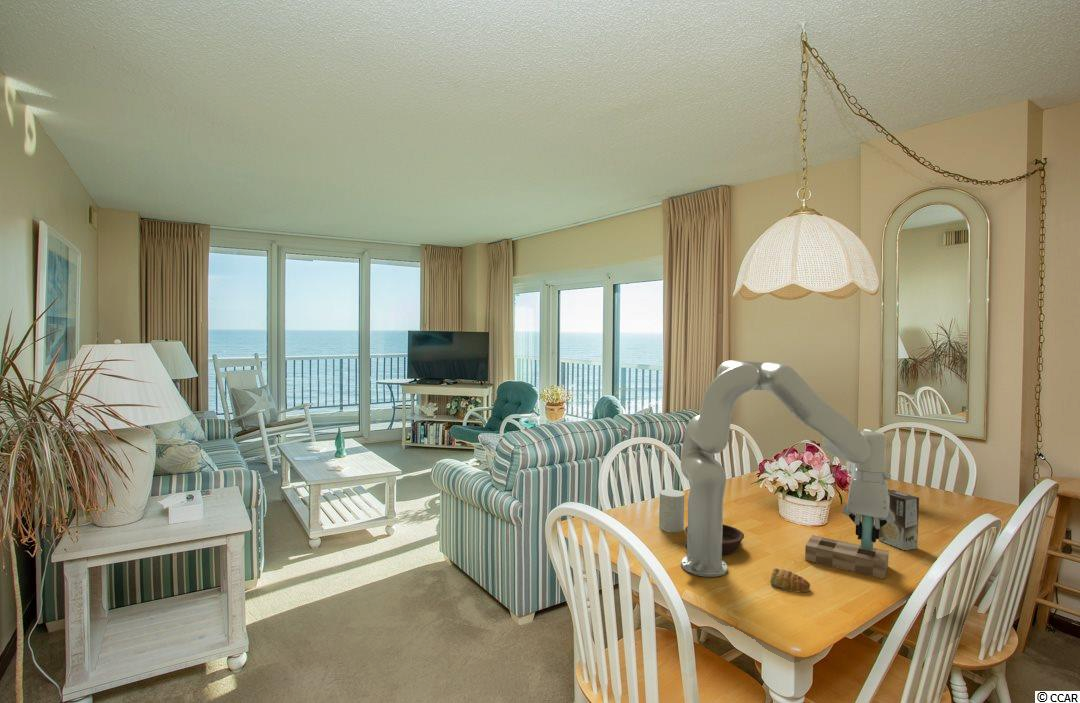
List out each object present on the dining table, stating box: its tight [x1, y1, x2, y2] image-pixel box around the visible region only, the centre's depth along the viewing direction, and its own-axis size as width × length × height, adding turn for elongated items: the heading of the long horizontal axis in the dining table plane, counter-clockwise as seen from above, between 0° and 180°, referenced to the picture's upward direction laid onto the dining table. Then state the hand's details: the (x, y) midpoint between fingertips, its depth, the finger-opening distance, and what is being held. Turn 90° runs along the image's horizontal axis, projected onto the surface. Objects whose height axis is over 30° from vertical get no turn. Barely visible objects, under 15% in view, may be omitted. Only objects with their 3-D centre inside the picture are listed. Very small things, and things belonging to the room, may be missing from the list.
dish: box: [684, 524, 745, 556], centre depth 174 cm, size 18×22×5 cm
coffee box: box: [878, 489, 920, 551], centre depth 176 cm, size 9×6×16 cm
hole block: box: [804, 534, 889, 579], centre depth 162 cm, size 10×20×4 cm, turn 54°
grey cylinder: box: [658, 488, 685, 533], centre depth 189 cm, size 8×8×12 cm
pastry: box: [769, 567, 811, 593], centre depth 147 cm, size 9×7×4 cm
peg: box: [860, 515, 875, 550], centre depth 158 cm, size 3×3×10 cm
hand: (867, 538), depth 159 cm, fingers closed on peg, 3 cm apart
